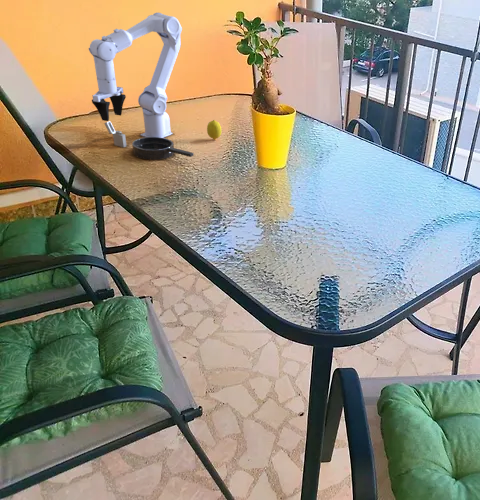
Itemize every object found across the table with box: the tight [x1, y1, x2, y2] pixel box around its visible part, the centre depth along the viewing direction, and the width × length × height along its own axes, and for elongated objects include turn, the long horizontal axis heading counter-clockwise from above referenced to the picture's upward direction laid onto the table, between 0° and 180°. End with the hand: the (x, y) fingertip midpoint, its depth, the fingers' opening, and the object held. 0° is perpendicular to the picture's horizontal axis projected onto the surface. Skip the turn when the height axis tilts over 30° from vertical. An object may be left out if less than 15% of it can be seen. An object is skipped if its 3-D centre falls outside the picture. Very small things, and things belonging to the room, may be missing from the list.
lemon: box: [206, 119, 223, 141], centre depth 184 cm, size 6×6×8 cm
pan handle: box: [169, 147, 195, 158], centre depth 163 cm, size 2×9×1 cm, turn 71°
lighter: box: [103, 120, 128, 148], centre depth 167 cm, size 7×2×8 cm, turn 72°
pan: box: [131, 137, 175, 161], centre depth 166 cm, size 14×14×4 cm
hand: (111, 117), depth 166 cm, fingers open, 7 cm apart
